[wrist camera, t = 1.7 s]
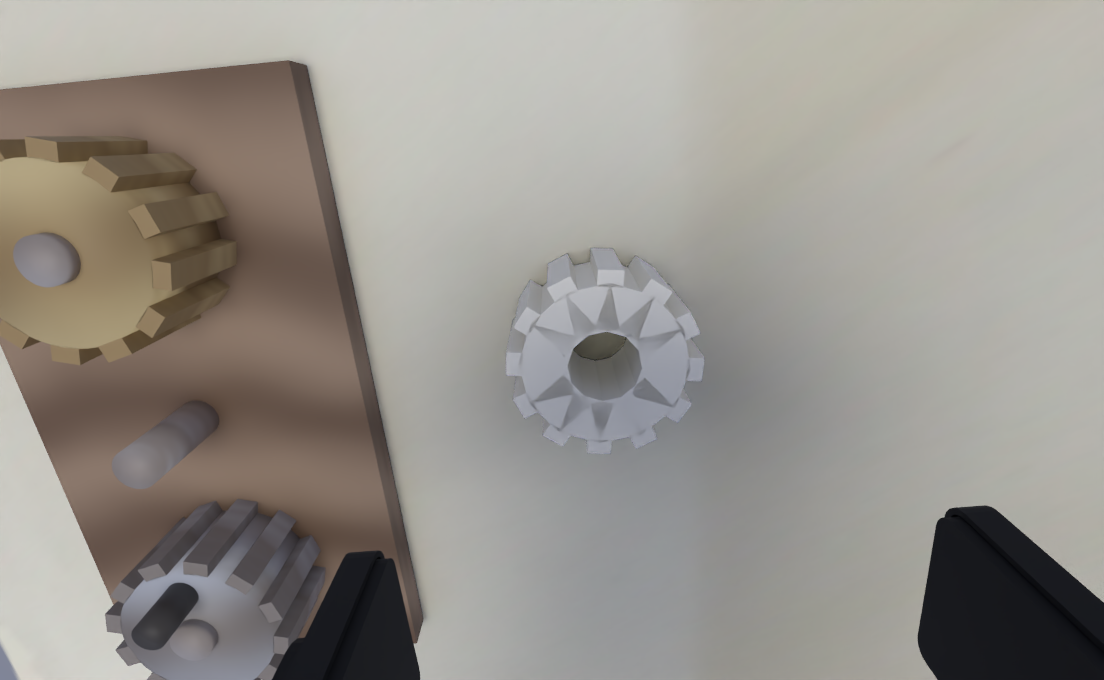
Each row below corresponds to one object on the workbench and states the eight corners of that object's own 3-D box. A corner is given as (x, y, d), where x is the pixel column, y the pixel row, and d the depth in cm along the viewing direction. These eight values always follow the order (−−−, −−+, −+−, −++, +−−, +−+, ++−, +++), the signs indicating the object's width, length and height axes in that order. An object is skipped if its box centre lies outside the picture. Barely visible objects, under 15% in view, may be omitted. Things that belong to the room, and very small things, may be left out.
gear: (646, 424, 26) (662, 473, 22) (494, 382, 25) (484, 426, 22) (705, 277, 24) (734, 303, 20) (540, 226, 23) (537, 244, 19)
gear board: (423, 619, 30) (383, 769, 23) (158, 638, 30) (37, 791, 23) (306, 65, 21) (182, 30, 14) (-63, 102, 22) (-363, 86, 14)
